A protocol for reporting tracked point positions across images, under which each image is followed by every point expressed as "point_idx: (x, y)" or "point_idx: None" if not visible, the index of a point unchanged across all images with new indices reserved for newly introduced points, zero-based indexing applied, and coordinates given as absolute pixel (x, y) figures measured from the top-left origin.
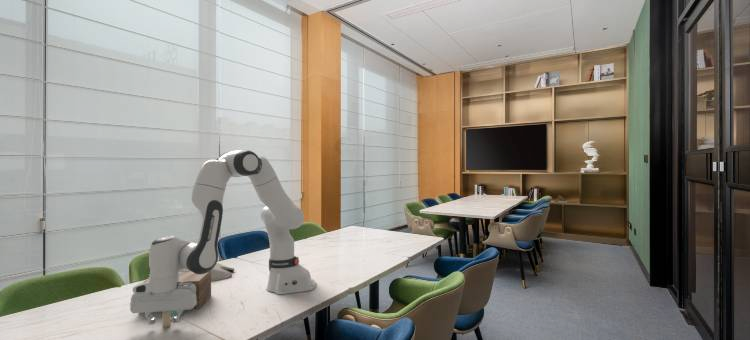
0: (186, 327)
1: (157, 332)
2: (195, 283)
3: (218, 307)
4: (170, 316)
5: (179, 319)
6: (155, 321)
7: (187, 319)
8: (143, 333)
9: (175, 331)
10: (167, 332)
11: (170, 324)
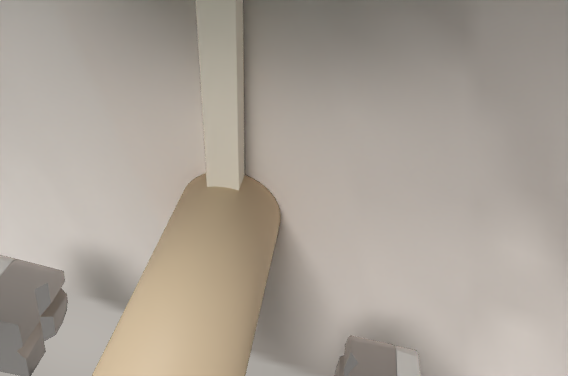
0: (496, 332)
1: None
2: None
3: None
4: (254, 329)
5: (414, 373)
6: (53, 286)
7: (532, 81)
8: None
9: None
10: (290, 352)
11: (277, 233)
